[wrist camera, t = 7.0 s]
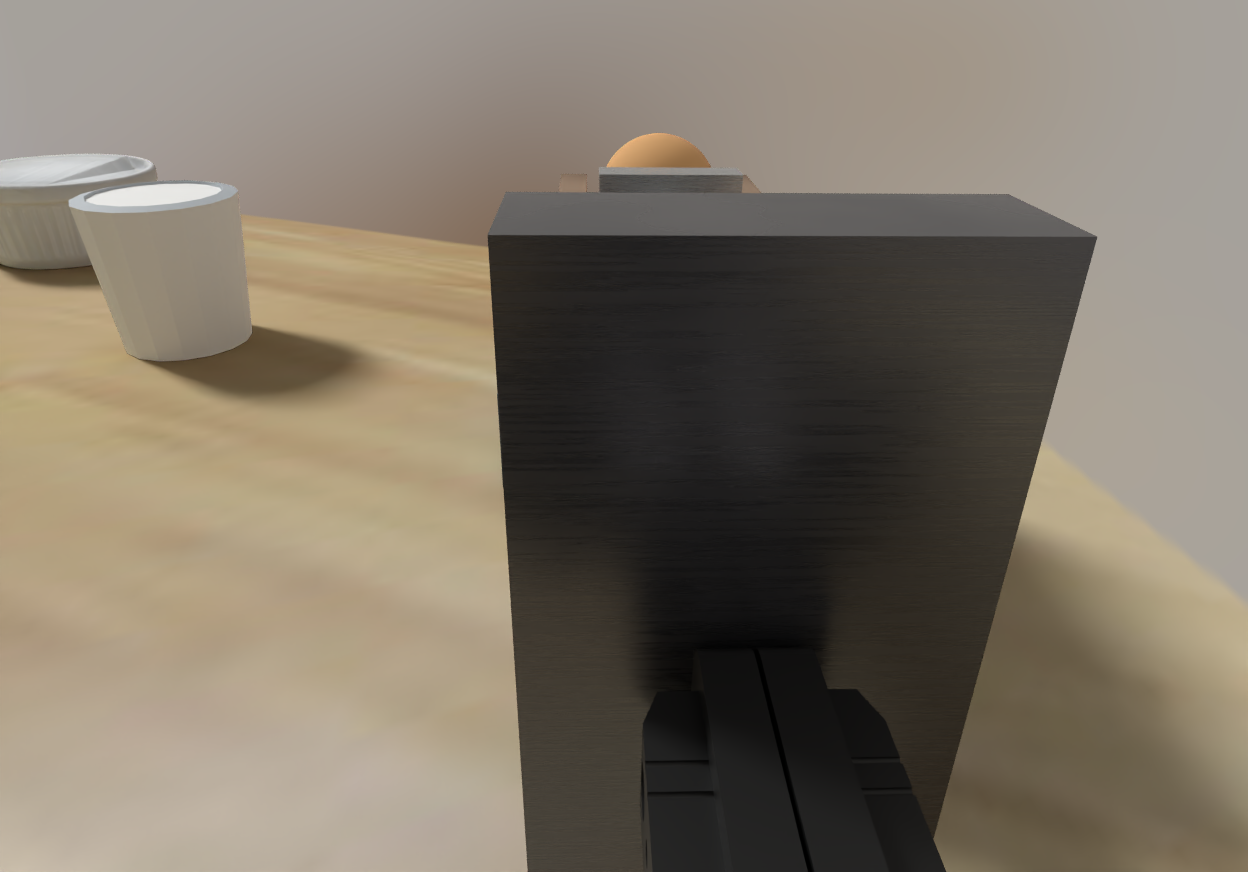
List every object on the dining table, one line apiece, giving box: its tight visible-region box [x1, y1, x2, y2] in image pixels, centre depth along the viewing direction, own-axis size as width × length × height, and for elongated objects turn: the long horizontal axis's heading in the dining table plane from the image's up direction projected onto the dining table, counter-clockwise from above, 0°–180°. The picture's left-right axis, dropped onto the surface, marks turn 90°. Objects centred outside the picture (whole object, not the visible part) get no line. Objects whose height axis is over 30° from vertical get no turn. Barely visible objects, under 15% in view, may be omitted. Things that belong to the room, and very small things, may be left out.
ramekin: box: [0, 154, 157, 269], centre depth 54 cm, size 11×11×5 cm
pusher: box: [488, 167, 1097, 872], centre depth 17 cm, size 14×6×10 cm, turn 2°
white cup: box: [68, 180, 252, 361], centre depth 39 cm, size 7×7×7 cm
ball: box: [607, 133, 711, 168], centre depth 25 cm, size 4×4×4 cm
